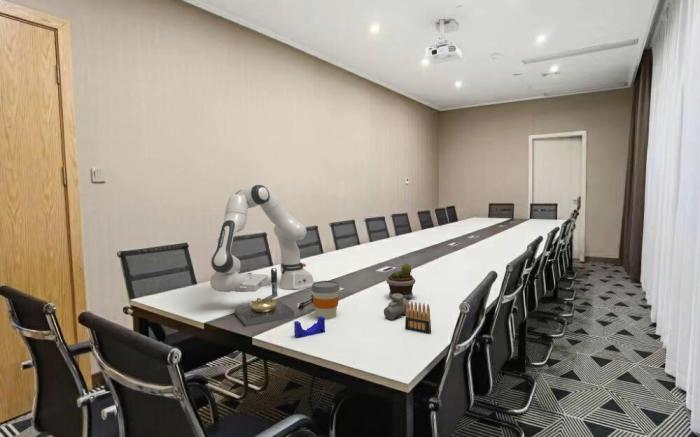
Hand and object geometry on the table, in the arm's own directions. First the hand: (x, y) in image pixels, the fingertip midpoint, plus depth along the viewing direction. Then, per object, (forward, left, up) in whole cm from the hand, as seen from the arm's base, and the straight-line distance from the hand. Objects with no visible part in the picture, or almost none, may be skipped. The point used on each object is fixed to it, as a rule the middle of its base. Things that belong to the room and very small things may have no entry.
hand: (271, 282), depth 190 cm
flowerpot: (-63, +20, -13) cm, 68 cm away
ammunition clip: (-40, +61, -13) cm, 74 cm away
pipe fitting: (-43, +42, -13) cm, 62 cm away
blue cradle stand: (-2, +39, -13) cm, 42 cm away
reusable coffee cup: (-17, +24, -13) cm, 32 cm away
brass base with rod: (+4, +5, -9) cm, 12 cm away
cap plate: (+7, +7, -13) cm, 16 cm away
